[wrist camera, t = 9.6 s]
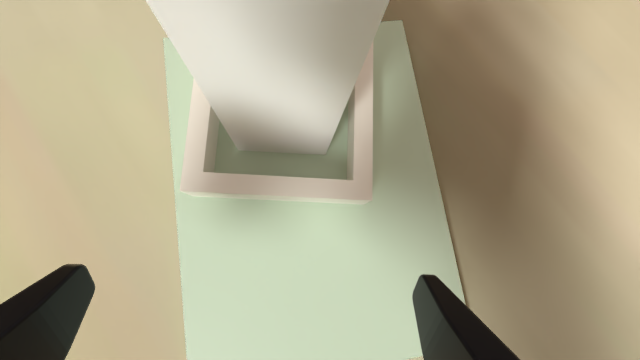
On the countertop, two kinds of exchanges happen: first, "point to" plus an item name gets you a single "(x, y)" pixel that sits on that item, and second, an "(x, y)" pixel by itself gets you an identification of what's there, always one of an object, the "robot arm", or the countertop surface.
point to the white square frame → (354, 190)
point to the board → (314, 236)
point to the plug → (274, 64)
